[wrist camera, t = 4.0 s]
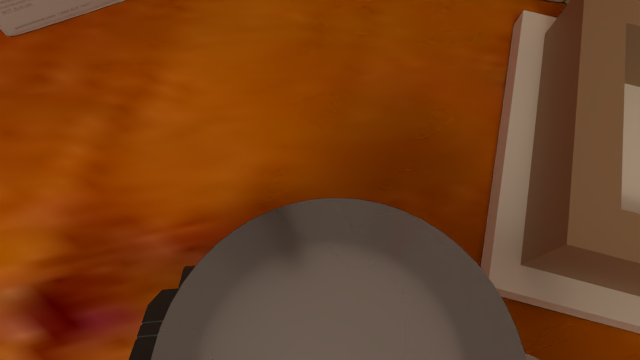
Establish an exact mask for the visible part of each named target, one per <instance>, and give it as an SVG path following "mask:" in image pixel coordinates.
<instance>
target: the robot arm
mask: <svg viewBox="0 0 640 360" xmlns="http://www.w3.org/2000/svg"><path fill="white" fill-rule="evenodd" d="M194 268H195V266H186V267H184V270H183V273H182V277H181V280H180V284H179V288H178V289H168V290H162V291H161V292H160V293H159V294H158V295H157V296H156V297H155V298H154V299H153V300H152V301H151V303H150V304H149V305H148V307H147V309H146V312H145V315H144V318H143V321H142V325H141V327H140V329H139V332H138V335H137V340H136V341H135V344H134V346H133V349H132V352H131V355H130V358H129V360H151V358H152V353H153V350H154V346H155V343H156V340H157V336H158V333H159V330H160V327H161V325H162V322H163V320H164V318H165V316H166V313H167V311H168V309H169V306H170V304H171V302H172V301H173V299H174V297H175V296H176V294H177V292H178V291H179V289H180V287H181V286H182V284H183V282H184V281H185V279H186V278H187V277H188V276H189V274H190V273H191V272H192V270H193V269H194ZM525 357H526V360H539V359H538V358H536V357H534V356H532V355H529V354H527V353H525Z"/></svg>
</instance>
